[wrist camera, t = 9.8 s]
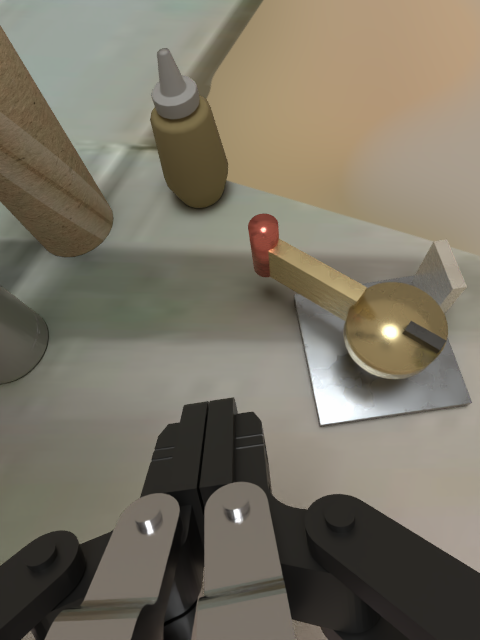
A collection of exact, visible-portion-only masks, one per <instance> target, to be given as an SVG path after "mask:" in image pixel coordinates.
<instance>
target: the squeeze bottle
mask: <svg viewBox="0 0 480 640" xmlns="http://www.w3.org/2000/svg"><path fill="white" fill-rule="evenodd" d="M157 58H158V70H159V82H158V83H157V84H156V85H155V86H154V88H153V89H152V94H151V96H152V99H153V102H154V105H155V108H154V109H153V110H152V113H151V119H150V121H151V125H152V129H153V133H154V137H155V141H156V145H157V149H158V154H159V158H160V162H161V166H162V170H163V174H164V178H165V180H166V183H167V185H168V187H169V188H170V189H171V190H172V191H173V192H174V193H175V194H176V195H177V196H178V197H179V198H180V199H181V200H182V201H183V202H184V203H185V204H187V205H188V206H191V207H194V208H204V207H207V206H210V205H212V204H214V203H215V202H216V201H218V200H219V199H220V197H221V195H222V194H223V191H224V187H225V183H226V178H227V174H228V162H227V159H226V156H225V152H224V149H223V146H222V143H221V139H220V136H219V133H218V130H217V126H216V124H215V120H214V117H213V114H212V111H211V107H210V105H209V103H208V101H207V100H206V99H205V98H203V97H202V96H200V95H199V93H198V89H197V85H196V83H195V81H194V80H193V79H191V78H189V77H188V76H183V75H181V73H180V71H179V69H178V67H177V65H176V63H175V61H174V59H173V57H172V55H171V53H170V51H169V49H167V48H163V49H160V50H159V51H158V52H157Z"/></svg>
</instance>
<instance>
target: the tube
mask: <svg viewBox="0 0 480 640" xmlns="http://www.w3.org/2000/svg"><path fill="white" fill-rule="evenodd" d="M0 201H1V202H2V204H3V205H4V206H5V207H6V208H7V209H8V210H9V211H10V212H11V213H12V214H13V215H14V216H15V217H16V218H17V219H18V220H19V221H20V222H21V223H22V224H23V225H24V227H25V228H26V229H27V230H28V231H29V232H30V233H31V234H32V235H33V236H34V237H35V238H36V239H37V240H38V241H39V242H40V243H41V244H42V245H43V246H44V247H45V248H46V249H47V251H48V252H50V253H52V254H54V255H56V256H61V257H75V256H78V255H82V254H85V253H87V252H89V251H91V250H93V249H94V248H96V247H97V246H98V245H99V244H101V243H102V242H103V241H104V239H105V238H106V237H107V236H108V234H109V232H110V230H111V228H112V224H113V213H112V210H111V208H110V206H109V204H108V203H107V201H106V199H105V198H104V196H103V194H102V193H101V191H100V189H99V188H98V186H97V185H96V183H95V181H94V180H93V178H92V176H91V175H90V173H89V171H88V170H87V168H86V166H85V165H84V163H83V161H82V160H81V158H80V156H79V155H78V153H77V151H76V150H75V148H74V146H73V145H72V143H71V141H70V140H69V138H68V137H67V135H66V133H65V132H64V130H63V128H62V127H61V125H60V123H59V122H58V120H57V118H56V117H55V115H54V113H53V112H52V110H51V108H50V107H49V105H48V103H47V102H46V100H45V98H44V97H43V95H42V93H41V92H40V90H39V89H38V87H37V85H36V84H35V82H34V80H33V79H32V77H31V75H30V74H29V72H28V70H27V69H26V67H25V65H24V64H23V62H22V60H21V59H20V57H19V55H18V54H17V52H16V50H15V49H14V47H13V45H12V44H11V42H10V41H9V39H8V37H7V36H6V34H5V32H4V31H3V29H2V27H1V26H0Z"/></svg>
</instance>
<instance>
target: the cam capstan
mask: <svg viewBox="0 0 480 640" xmlns="http://www.w3.org/2000/svg"><path fill="white" fill-rule="evenodd" d="M248 230H249V237H250V244H251V250H252V257H253V264H254V270H255V272H256V273H257V274H258V275H260V276H262V277H272V278H273V279H275V280H277V281H278V282H280V283H282V284H283V285H285V286H287V287H289V288H290V289H292V290H294V291H295V292H297V293H299V294H300V295H302V296H304V297H305V298H307V299H309V300H310V301H312V302H314V303H315V304H317V305H319V306H320V307H322V308H324V309H325V310H327V311H329V312H330V313H332V314H334V315H335V316H337V317H339V318H340V319H342V320H344V321H345V324H344V330H343V336H344V342H345V345H346V348H347V350H348V352H349V354H350V356H351V357H352V359H353V360H354V361H355V362H356V363H357V364H358V365H359V366H360V367H362V368H363V369H364V370H366V371H367V372H369V373H371V374H373V375H376V376H378V377H382V378H387V379H404V378H408V377H411V376H414V375H416V374H418V373H420V372H421V371H423V370H424V369H425V368H426V367H427V366H428V365H429V364H431V363H432V362H433V361H434V360H435V359H436V358H437V357H438V356H439V354H440V353H441V352H442V350H443V348H444V346H445V344H446V341H447V336H448V326H447V321H446V318H445V315H444V313H443V311H442V309H441V308H440V306H439V305H438V303H437V302H436V301H435V300H434V299H433V298H432V297H431V296H430V295H428V294H427V293H426V292H424V291H422V290H421V289H419V288H417V287H414V286H412V285H409V284H404V283H398V282H386V283H380V284H376V285H373V286H371V287H369V288H367V287H365V286H364V285H362V284H360V283H358V282H356V281H355V280H353V279H351V278H349V277H347V276H346V275H344V274H342V273H340V272H338V271H336V270H335V269H333V268H331V267H329V266H327V265H326V264H324V263H322V262H320V261H318V260H317V259H315V258H313V257H311V256H309V255H308V254H306V253H304V252H302V251H300V250H299V249H297V248H295V247H293V246H291V245H289V244H288V243H286V242H284V241H282V240H280V239H279V232H278V221H277V220H276V218H275V217H273V216H272V215H269V214H259V215H256V216H254V217H253V218H252V219H251V220H250V222H249V224H248Z"/></svg>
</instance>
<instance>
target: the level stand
mask: <svg viewBox="0 0 480 640" xmlns="http://www.w3.org/2000/svg"><path fill="white" fill-rule="evenodd" d="M386 282H398V283H404V284H409V285H412V286H414V287H417V288H419V289H421V290H422V291H424V292H426V293H427V294H428V295H430V296H431V297H432V298H433V299H434V300H435V301H436V302H437V303H438V305H439V306H440V308H441V309H442V311H443V313H444V314H445V313H446V312H447V310H448V309H449V308H450V307H451V306H452V304H453V303H454V302H455V301H456V299H457V298H458V297H459V296H460V295H461V293H462V292H463V291H464V290H465V289H466V287H467V285H466V283H465V281H464V278H463V276H462V274H461V271H460V269H459V266H458V264H457V262H456V259H455V257H454V255H453V252H452V250H451V247H450V245H449V243H448V240H440V241H434V242H433V244H432V246H431V247H430V249H429V251H428V253H427V254H426V256H425V258H424V260H423V262H422V263H421V265H420V267H419V269H418V271H417V272H416V274H415V276H409V277H403V278H397V279H391V280H384V281H378V282H372V283H366V284H362V285H364V286H365V287H367V288H369V287H371V286H373V285H376V284H380V283H386ZM294 302H295V307H296V312H297V317H298V322H299V326H300V331H301V336H302V341H303V346H304V351H305V356H306V361H307V366H308V370H309V375H310V380H311V385H312V390H313V395H314V400H315V405H316V409H317V414H318V419H319V424H320V427H322V426H329V425H336V424H342V423H349V422H356V421H363V420H370V419H377V418H384V417H391V416H398V415H405V414H412V413H419V412H426V411H433V410H440V409H447V408H454V407H460V406H467V405H469V404H471V403H472V401H471V399H470V396H469V393H468V391H467V388H466V385H465V383H464V380H463V377H462V375H461V372H460V369H459V367H458V364H457V361H456V359H455V356H454V353H453V351H452V348H451V345H450V343H449V340H448V337H447V341H446V344H445V346H444V348H443V350H442V352H441V353H440V354H439V356H438V357H437V358H436V359H435V360H434V361H433V362H432V363H431V364H429V365H428V366H427V367H426V368H425V369H424V370H423V371H421V372H420V373H418V374H416V375H414V376H411V377H408V378H404V379H387V378H382V377H378V376H376V375H373V374H371V373H369V372H367V371H366V370H364V369H363V368H362V367H360V366H359V365H358V364H357V363H356V362H355V361H354V360H353V359H352V357H351V356H350V354H349V352H348V350H347V348H346V345H345V342H344V336H343V330H344V324H345V321H344V320H342V319H340V318H339V317H337V316H335V315H334V314H332V313H330V312H329V311H327V310H325V309H324V308H322V307H320V306H319V305H317V304H315V303H314V302H312V301H310V300H309V299H307V298H305V297H304V296H302V295H300V294H297V295H294Z"/></svg>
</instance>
